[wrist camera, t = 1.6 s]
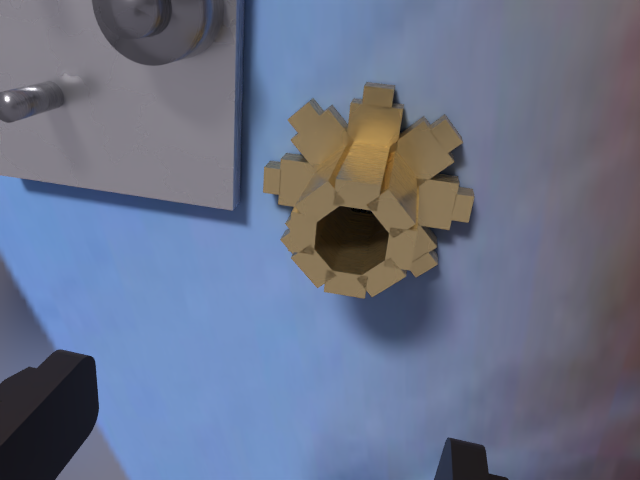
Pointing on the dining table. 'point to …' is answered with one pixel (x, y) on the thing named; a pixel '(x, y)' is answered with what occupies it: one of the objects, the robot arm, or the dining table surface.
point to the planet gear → (366, 193)
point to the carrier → (124, 96)
